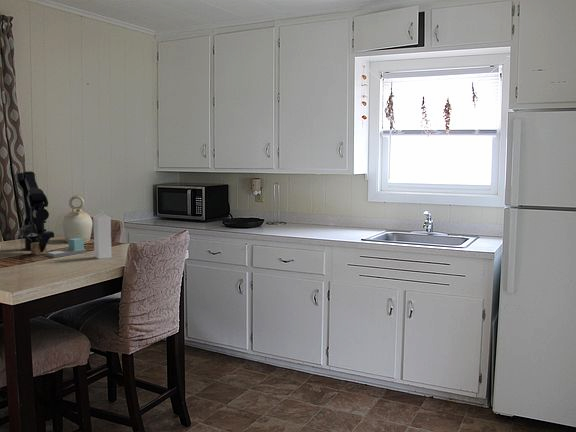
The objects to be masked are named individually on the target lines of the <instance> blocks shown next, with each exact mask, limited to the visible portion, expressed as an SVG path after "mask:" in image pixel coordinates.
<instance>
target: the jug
mask: <svg viewBox="0 0 576 432" xmlns="http://www.w3.org/2000/svg"><path fill="white" fill-rule="evenodd" d="M75 199H78V200H79V201H80V202H81V204H80V205H79V206H77V207H75V206H74V205H73V203H72V202H73V200H75ZM68 205H69V207H70V208H71V211H70V212H68V213H67V214H66V215H65V214H64V217H63V218H62V222H61V228H62V232H63V237H64V240H65V243H68V239H74V238H80V239H84V243H87V242H90V240H91V236H92V230H93V219H92V217H91V216H90V214H88V213H87V212H86V211H84V210H82V209H83V208H84V206H85V200H84V198H83V197H82V196H80V195H73V196H72V197H70V199H69V200H68Z"/></svg>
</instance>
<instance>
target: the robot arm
mask: <svg viewBox="0 0 576 432" xmlns="http://www.w3.org/2000/svg"><path fill="white" fill-rule="evenodd" d="M14 179H15V180H14V181H15V183H16V185H17V188H18V189H20V191H21V196H22V203H23V204H22V205H23V213H24V219H23V222H22V224H21V225H22V226H21V227H20V228H18V231H19V234H20V238H21V239H24V247H22V248H21V250H24V251H31V243H36V242H39V246H40V251H41V252H43V251H44V249H45V247H46V248H47V245H48V242H49V241H50V239H52V238H55V232H53V231H51V230H47V228H45V224H46V223H47V220H48V218H49V216H50V212H49V211H48V210H47V209H46V208H47V207H49V201H48V198H47V197H48V196H47V195H46V194H45V193H44V191H43V190H42V189H41V188H39V186H38V183H37V181H36V174H35V172H34V171H29V170H28V171H22V172H17V173H16V174H15V175H14Z"/></svg>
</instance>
